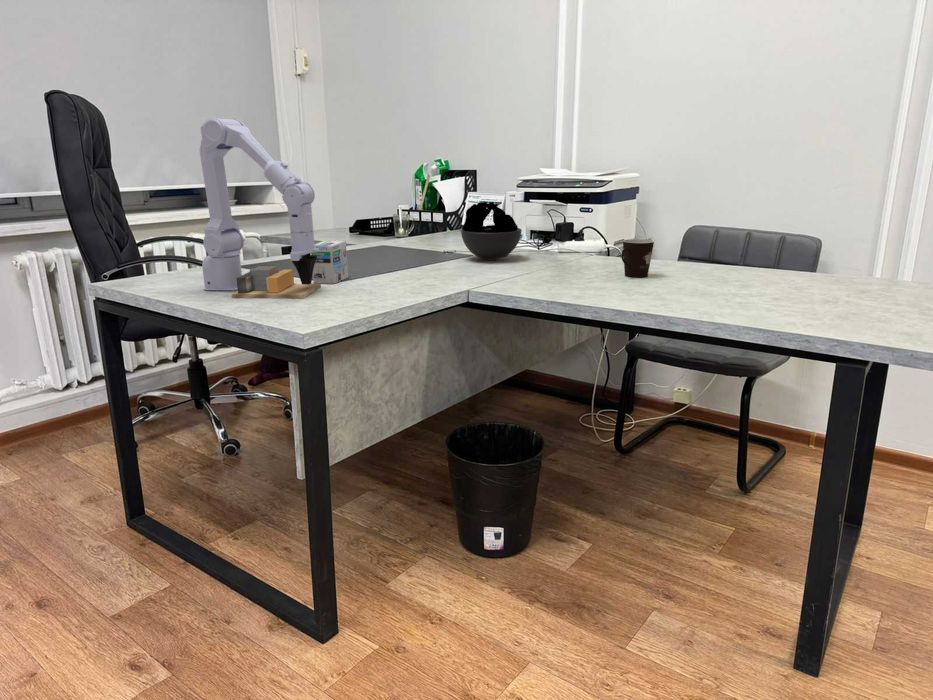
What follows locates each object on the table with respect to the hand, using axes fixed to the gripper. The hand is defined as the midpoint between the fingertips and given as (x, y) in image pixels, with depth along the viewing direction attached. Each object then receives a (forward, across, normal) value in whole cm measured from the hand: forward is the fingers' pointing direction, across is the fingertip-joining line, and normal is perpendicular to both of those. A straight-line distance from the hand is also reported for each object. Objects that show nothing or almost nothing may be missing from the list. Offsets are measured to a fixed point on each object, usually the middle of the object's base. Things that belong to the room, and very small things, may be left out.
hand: (306, 284), depth 172 cm
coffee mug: (+3, +25, -87) cm, 91 cm away
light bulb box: (+3, +17, -1) cm, 17 cm away
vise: (+2, 0, +9) cm, 9 cm away
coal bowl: (+3, +54, -45) cm, 71 cm away
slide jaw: (+1, 0, +7) cm, 7 cm away
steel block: (+1, 0, +11) cm, 11 cm away
